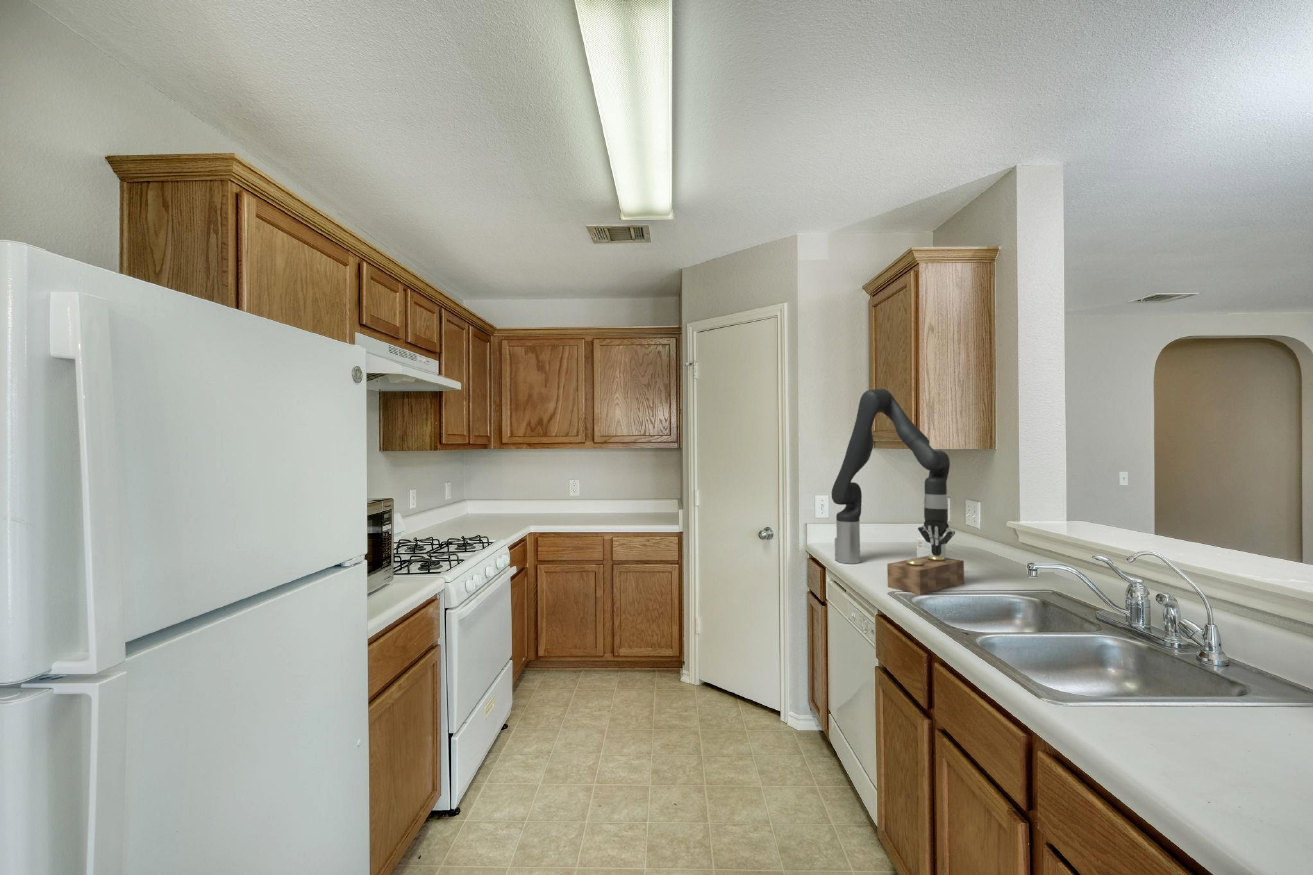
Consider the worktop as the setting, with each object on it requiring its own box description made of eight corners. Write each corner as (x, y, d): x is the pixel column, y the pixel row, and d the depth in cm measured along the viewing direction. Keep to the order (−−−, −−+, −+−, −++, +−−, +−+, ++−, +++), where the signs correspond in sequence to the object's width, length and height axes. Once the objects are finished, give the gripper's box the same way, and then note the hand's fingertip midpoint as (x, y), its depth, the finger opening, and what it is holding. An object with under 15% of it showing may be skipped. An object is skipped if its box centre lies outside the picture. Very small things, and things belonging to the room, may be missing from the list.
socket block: (887, 586, 187) (887, 563, 188) (931, 576, 201) (931, 555, 201) (920, 594, 177) (919, 570, 177) (964, 583, 191) (963, 560, 191)
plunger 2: (926, 579, 193) (925, 556, 194) (934, 578, 196) (933, 554, 196) (939, 582, 189) (939, 558, 189) (947, 580, 192) (947, 557, 192)
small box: (946, 574, 204) (946, 539, 205) (936, 576, 201) (935, 541, 201) (926, 570, 211) (926, 536, 212) (916, 572, 208) (915, 538, 208)
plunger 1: (903, 585, 187) (903, 560, 187) (912, 583, 189) (912, 559, 189) (917, 588, 182) (917, 563, 182) (926, 586, 185) (925, 561, 185)
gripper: (912, 505, 197) (912, 553, 196) (948, 509, 185) (948, 560, 185) (924, 504, 201) (925, 551, 200) (960, 507, 189) (961, 557, 189)
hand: (936, 555), depth 193 cm, fingers closed
